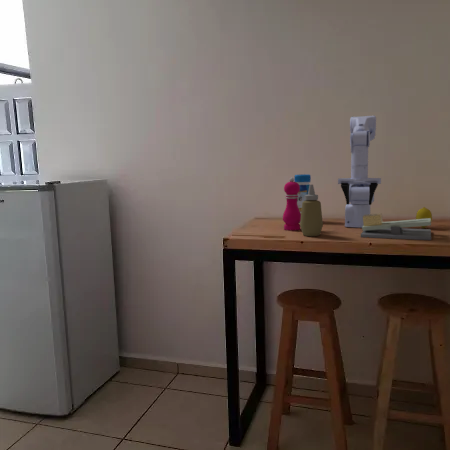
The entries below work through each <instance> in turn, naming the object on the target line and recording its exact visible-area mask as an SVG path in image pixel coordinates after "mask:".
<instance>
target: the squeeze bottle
mask: <svg viewBox="0 0 450 450" xmlns="http://www.w3.org/2000/svg"><path fill="white" fill-rule="evenodd" d="M299 224H300V230H301V232H302V235H303V236H306V237H317V236H320V235H321V233H322V229H323V227H324V221H323V213H322V204H321V201H320V200H319V195H318V194H316V192H315V187H314V184H310V186H309V191H308V195H305V201H303V202H302V211H301V221H300V223H299Z"/></svg>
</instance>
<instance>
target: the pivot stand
mask: <svg viewBox="0 0 450 450" xmlns="http://www.w3.org/2000/svg"><path fill="white" fill-rule="evenodd" d="M431 230H432V229H430V228H428V229H427V228H426V229H425V228H406V227H404V228H400V227H395V226H391V229H377V230H364V231H362V232H361V233H360V238H367V237H369V238H371V239H374V238H375V239H391V238H392V240H393V239H396V240H397V239H399V240H415V241H416V240H420V241H421V240H422V241H432V231H431Z"/></svg>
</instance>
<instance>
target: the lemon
mask: <svg viewBox="0 0 450 450" xmlns="http://www.w3.org/2000/svg"><path fill="white" fill-rule="evenodd" d="M427 218H431V222H432V221H433V214H432V211H431V209H429V208H427V207H425V206H423V207H422V208H420V209H418V211H417V212H416V214H415V219H427ZM420 227H421V229H425V228H427V227H428V226H420Z"/></svg>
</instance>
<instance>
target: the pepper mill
mask: <svg viewBox="0 0 450 450" xmlns="http://www.w3.org/2000/svg"><path fill="white" fill-rule="evenodd" d="M283 191H284V193H285V195H284V196H285V200H286V206H285V210H284V211H283V215H282V221H283V223H284V225H283V230H284V231H300V230H301V227H300V223H299V222H300V221H301V213H300V211H299V208H298V205H297V198H299V197H298V192H299V191H300V186H299V184H298V183H296V182H295V180H294V177H290V178H289V181H288V182H286V183H285V184H284V186H283Z"/></svg>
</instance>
